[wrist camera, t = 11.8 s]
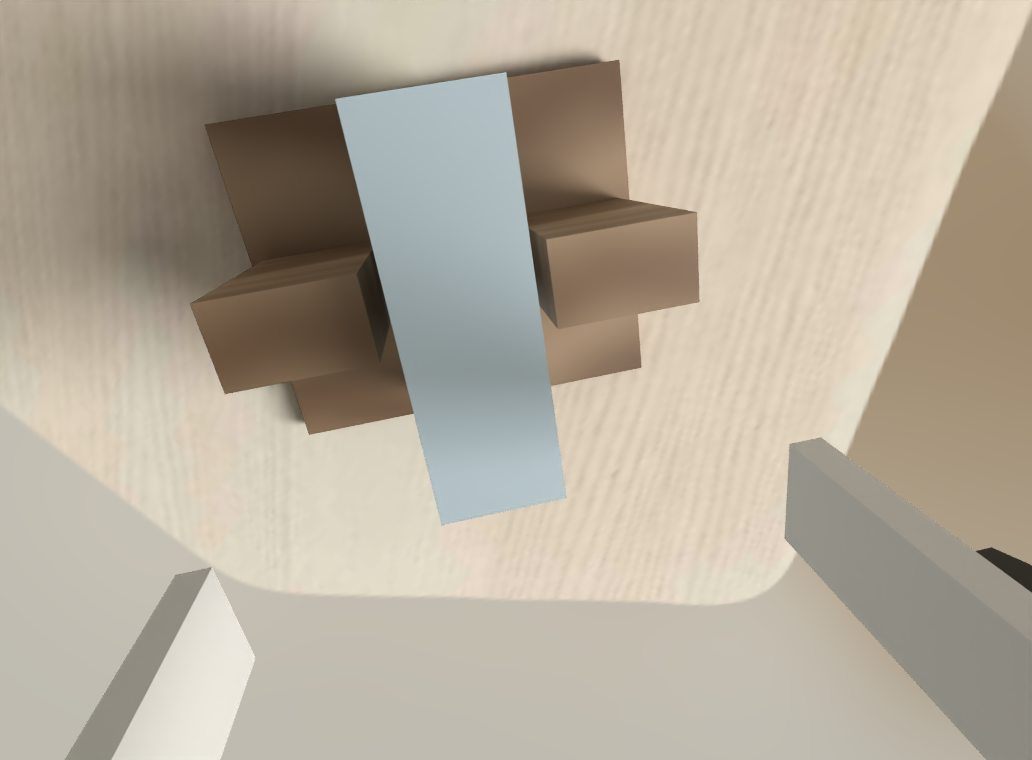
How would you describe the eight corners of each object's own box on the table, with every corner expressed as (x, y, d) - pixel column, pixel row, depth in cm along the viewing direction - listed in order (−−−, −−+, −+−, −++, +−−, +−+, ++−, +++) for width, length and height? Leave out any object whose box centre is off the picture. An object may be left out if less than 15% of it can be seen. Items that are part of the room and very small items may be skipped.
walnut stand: (215, 126, 23) (91, 105, 15) (610, 64, 24) (708, 11, 16) (313, 424, 28) (264, 535, 20) (633, 359, 30) (715, 438, 21)
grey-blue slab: (376, 127, 23) (334, 98, 13) (472, 112, 23) (506, 72, 13) (436, 391, 27) (441, 525, 17) (515, 375, 28) (566, 497, 18)
